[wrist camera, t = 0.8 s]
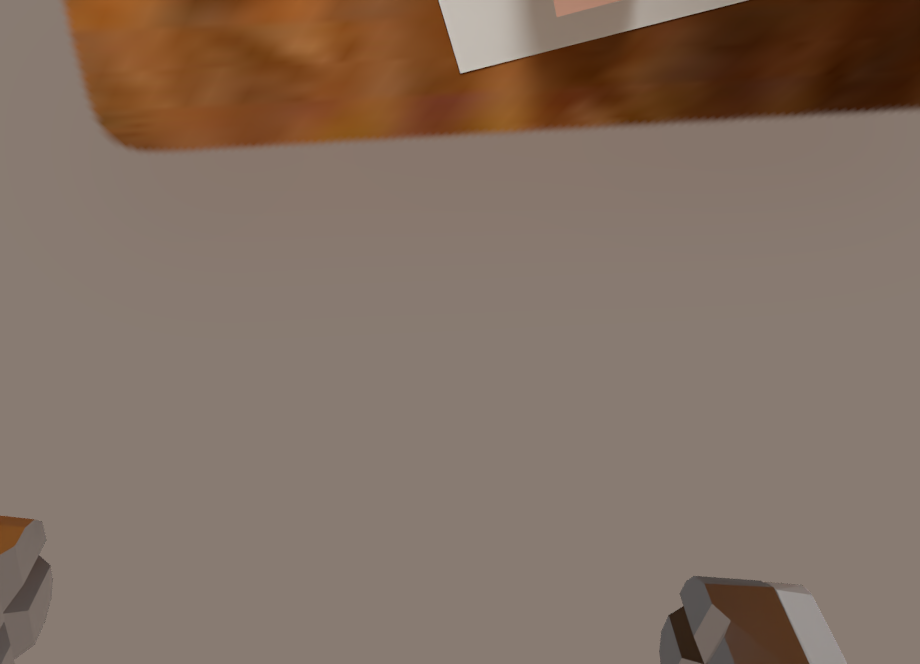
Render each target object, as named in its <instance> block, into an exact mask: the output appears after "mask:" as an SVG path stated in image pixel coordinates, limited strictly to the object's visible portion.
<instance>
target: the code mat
mask: <svg viewBox="0 0 920 664" xmlns="http://www.w3.org/2000/svg"><path fill="white" fill-rule="evenodd" d="M743 1H747V0H620V1H616V2H613V3H609V4H605V5H601V6H598V7H594V8H590V9H586V10H582V11H579V12H575V13H571V14H567V15H563V16H560V17H557V16H556V11H555V6H554V1H553V0H439V3H440V7H441V10H442V14H443V17H444V20H445V24H446V27H447V30H448V34H449V37H450V40H451V44H452V47H453V50H454V54H455V57H456V60H457V64H458V67H459V70H460V73H464V72H468V71H472V70H476V69H480V68H484V67H488V66H492V65H496V64H499V63H503V62H507V61H511V60H515V59H519V58H523V57H527V56H531V55H535V54H539V53H543V52H547V51H551V50H554V49H558V48H562V47H566V46H570V45H574V44H578V43H582V42H586V41H590V40H594V39H598V38H602V37H606V36H609V35H613V34H617V33H621V32H625V31H629V30H633V29H637V28H641V27H645V26H649V25H653V24H657V23H660V22H664V21H668V20H672V19H676V18H680V17H684V16H688V15H692V14H696V13H700V12H704V11H708V10H712V9H715V8H719V7H723V6H727V5H731V4H735V3H739V2H743Z"/></svg>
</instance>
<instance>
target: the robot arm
mask: <svg viewBox="0 0 920 664" xmlns="http://www.w3.org/2000/svg"><path fill="white" fill-rule="evenodd" d="M45 542H46V536H45V532H44V528H43V523H42V521H39V520H34V519H25V518H16V517H8V516H0V664H15V663H14V659H16V658H17V657H19V656H20V655H21V654H23V653H24V652H25V651H27V650H28V649H29V648H31V647H32V646H33V645H35V643H36V641H37V638H38V636H39V634H40V632H41V630H42V627H43V625H44V623H45V620H46V616H47V612H48V609H49V605H50V601H51V596H52V582H53V578H52V572H51V566H50V565H49V564H48V563H47V562H46V561H45V560H44V559H42V557H40V556H39V554H40V552H41V550H42V548H43V546H44V544H45ZM680 596H681V599H682V603H683V607H681V608H680V609H678V610H676V611H675V612H673V613H671V614H670V615H668V618H667V620H666V622H665V624H664V627H663V629H662V631H661V640H660V650H659V652H660V662H661V664H847V662H846V660H845V658H844V656H843V654H842V652H841V651H840V649H839V647H838V645H837V643H836V641H835V639H834V637H833V635H832V633H831V631H830V629H829V627H828V625H827V623H826V621H825V619H824V618H823V615H822V614H821V612H820V610H819V608H818V606H817V604H816V602H815V600H814V598H813V596H812V594H811V593H810V592H809V591H808V590H807V589H806V588H805V587H804V586H803V585H796V584H784V583H773V582H762V581H755V580H742V579H729V578H716V577H702V576H693V577H692V578H690V579H689V580H687V581H686V583H685V584H684V587H683V588H682V590H681V592H680Z"/></svg>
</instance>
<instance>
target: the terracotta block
mask: <svg viewBox="0 0 920 664" xmlns="http://www.w3.org/2000/svg"><path fill="white" fill-rule="evenodd" d="M553 1H554V6H555V11H556V16H557V17H560V16H563V15H567V14H571V13H575V12H579V11H582V10H586V9H590V8H594V7H598V6H601V5H605V4H609V3H613V2H616V1H620V0H553Z"/></svg>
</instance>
